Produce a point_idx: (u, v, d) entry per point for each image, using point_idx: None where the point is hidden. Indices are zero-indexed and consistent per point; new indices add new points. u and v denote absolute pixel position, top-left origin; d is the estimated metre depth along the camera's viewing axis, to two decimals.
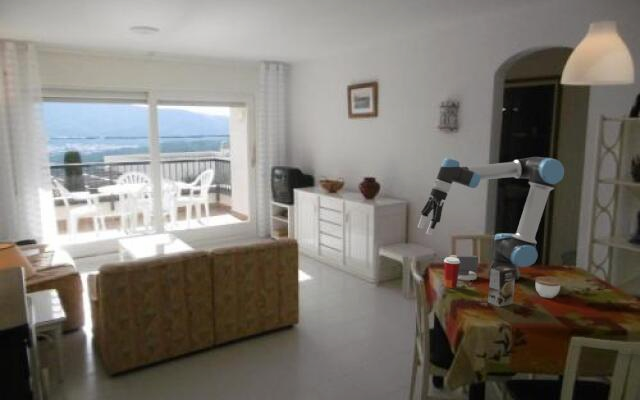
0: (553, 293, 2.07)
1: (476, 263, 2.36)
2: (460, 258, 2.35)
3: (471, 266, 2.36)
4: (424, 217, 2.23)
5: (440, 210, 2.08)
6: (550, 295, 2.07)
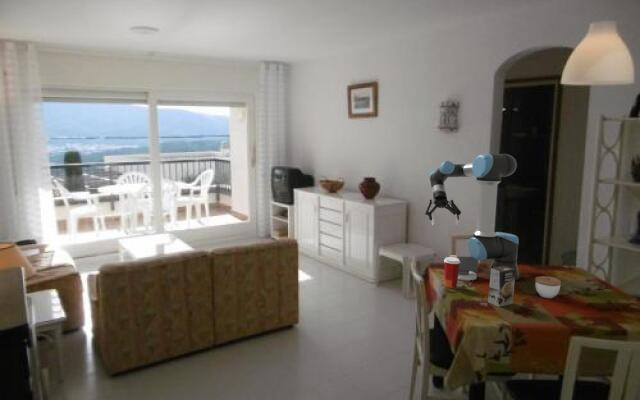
0: (553, 293, 2.07)
1: (476, 263, 2.36)
2: (460, 258, 2.35)
3: (471, 266, 2.36)
4: (454, 216, 2.57)
5: None
6: (550, 295, 2.07)
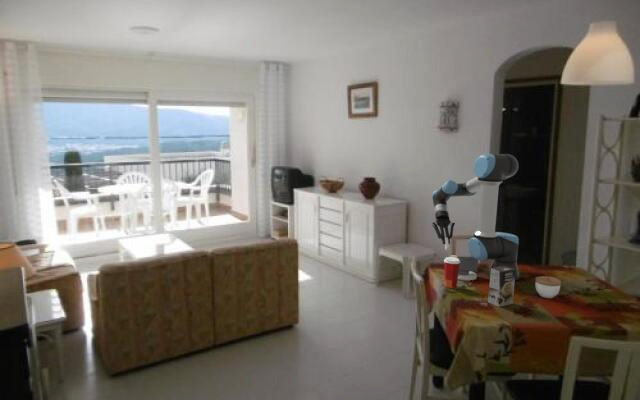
0: (553, 293, 2.07)
1: (476, 263, 2.36)
2: (460, 258, 2.35)
3: (471, 266, 2.36)
4: None
5: (435, 229, 2.56)
6: (550, 295, 2.07)
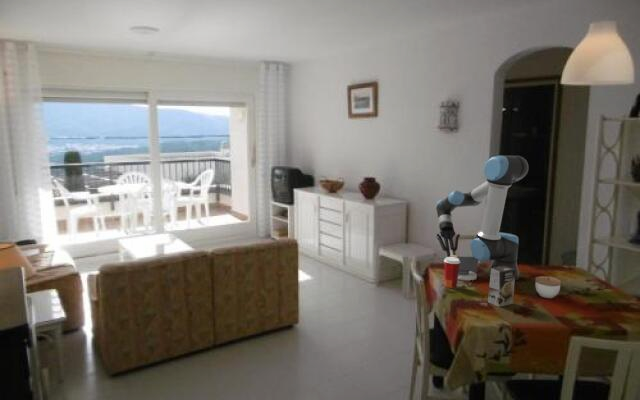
0: (553, 293, 2.07)
1: (476, 263, 2.36)
2: (460, 258, 2.35)
3: (471, 266, 2.36)
4: None
5: (440, 240, 2.46)
6: (550, 295, 2.07)
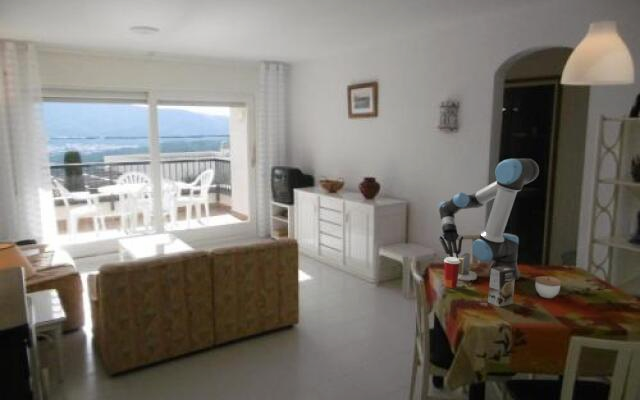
0: (553, 293, 2.07)
1: (469, 260, 2.41)
2: (465, 259, 2.34)
3: (467, 264, 2.40)
4: None
5: (443, 243, 2.41)
6: (550, 295, 2.07)
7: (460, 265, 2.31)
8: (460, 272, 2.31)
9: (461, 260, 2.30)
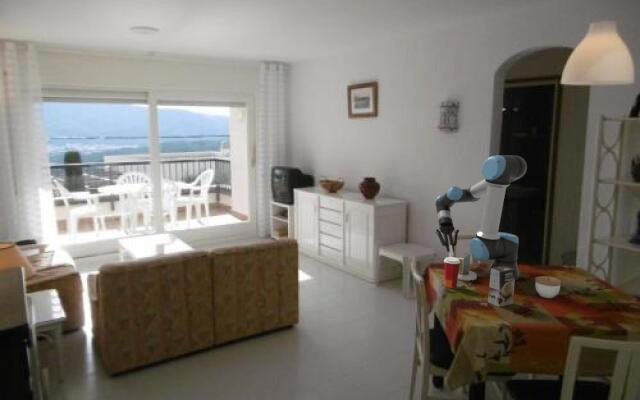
0: (553, 293, 2.07)
1: (469, 260, 2.41)
2: (465, 259, 2.34)
3: (467, 264, 2.40)
4: None
5: (439, 236, 2.49)
6: (550, 295, 2.07)
7: (460, 265, 2.31)
8: (460, 272, 2.31)
9: (461, 260, 2.30)
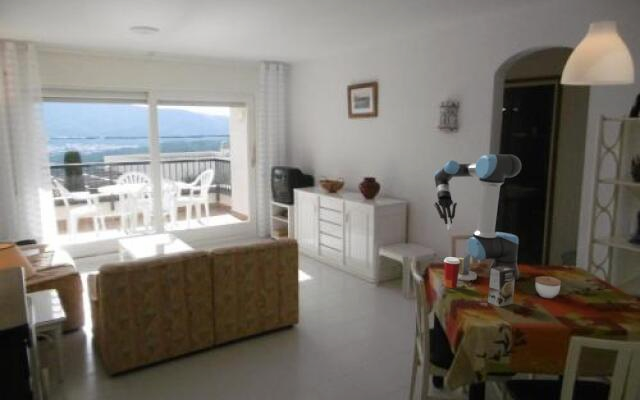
0: (553, 293, 2.07)
1: (469, 260, 2.41)
2: (465, 259, 2.34)
3: (467, 264, 2.40)
4: None
5: (438, 209, 2.57)
6: (550, 295, 2.07)
7: (460, 265, 2.31)
8: (460, 272, 2.31)
9: (461, 260, 2.30)
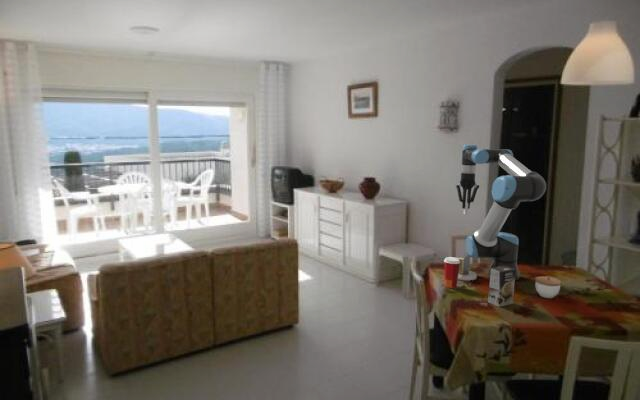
0: (553, 293, 2.07)
1: (469, 260, 2.41)
2: (465, 259, 2.34)
3: (467, 264, 2.40)
4: None
5: (458, 192, 2.52)
6: (550, 295, 2.07)
7: (460, 265, 2.31)
8: (460, 272, 2.31)
9: (461, 260, 2.30)
